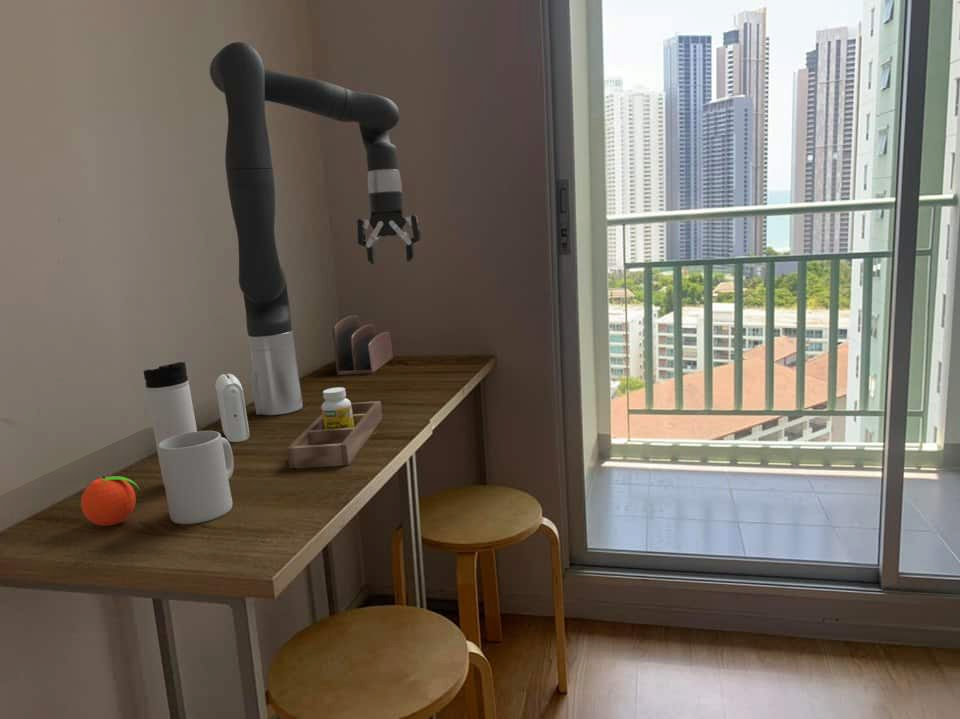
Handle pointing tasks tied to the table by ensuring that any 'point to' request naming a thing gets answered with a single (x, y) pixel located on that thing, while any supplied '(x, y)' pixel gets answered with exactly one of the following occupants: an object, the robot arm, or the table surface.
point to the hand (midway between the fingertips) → (391, 262)
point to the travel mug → (169, 402)
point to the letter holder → (359, 347)
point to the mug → (197, 476)
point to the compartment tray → (334, 439)
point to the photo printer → (232, 408)
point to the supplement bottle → (336, 409)
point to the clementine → (108, 500)
